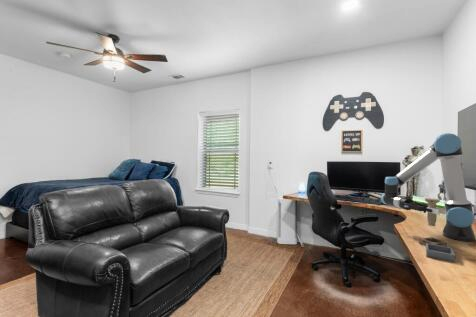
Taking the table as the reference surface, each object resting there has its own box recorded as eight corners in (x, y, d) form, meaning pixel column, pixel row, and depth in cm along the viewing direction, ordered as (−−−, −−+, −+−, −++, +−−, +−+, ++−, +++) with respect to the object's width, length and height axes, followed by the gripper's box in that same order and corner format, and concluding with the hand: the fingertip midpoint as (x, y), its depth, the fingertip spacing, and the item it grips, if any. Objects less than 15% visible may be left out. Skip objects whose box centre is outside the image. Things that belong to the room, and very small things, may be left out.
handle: (424, 223, 137) (425, 197, 137) (439, 225, 133) (439, 199, 132) (424, 225, 133) (424, 199, 133) (439, 227, 129) (439, 200, 129)
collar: (432, 242, 140) (432, 237, 140) (447, 247, 132) (447, 242, 132) (419, 243, 138) (419, 238, 138) (434, 249, 130) (434, 244, 130)
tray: (426, 249, 130) (426, 243, 130) (451, 254, 123) (452, 247, 123) (426, 256, 121) (426, 250, 120) (454, 262, 114) (454, 255, 114)
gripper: (414, 208, 152) (454, 218, 129) (392, 209, 149) (429, 219, 126) (414, 196, 152) (454, 204, 129) (392, 197, 149) (429, 205, 126)
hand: (442, 212), depth 128 cm, fingers closed on handle, 3 cm apart
